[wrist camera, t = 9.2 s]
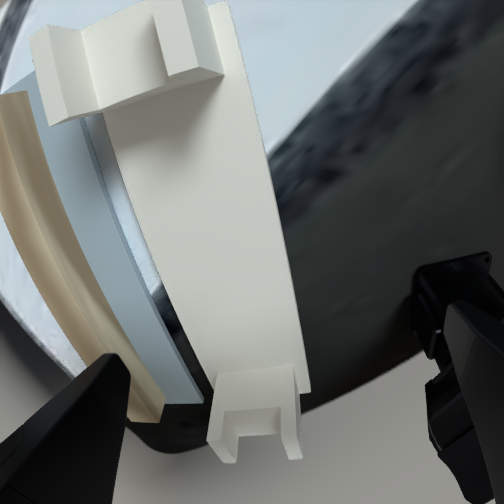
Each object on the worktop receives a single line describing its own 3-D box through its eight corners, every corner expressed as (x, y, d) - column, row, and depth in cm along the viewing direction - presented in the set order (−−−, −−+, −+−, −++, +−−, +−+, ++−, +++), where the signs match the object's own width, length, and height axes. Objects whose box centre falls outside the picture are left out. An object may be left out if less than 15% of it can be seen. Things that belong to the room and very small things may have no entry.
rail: (27, 90, 14) (-4, 95, 12) (166, 397, 27) (159, 423, 25) (0, 109, 15) (-30, 117, 12) (139, 397, 28) (131, 421, 25)
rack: (229, 6, 13) (202, -45, 7) (310, 381, 26) (316, 456, 19) (96, 53, 14) (12, 49, 8) (221, 391, 27) (211, 462, 21)
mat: (67, 53, 14) (62, 53, 14) (204, 398, 28) (203, 403, 27) (-23, 116, 16) (-28, 118, 15) (117, 398, 29) (116, 402, 29)
